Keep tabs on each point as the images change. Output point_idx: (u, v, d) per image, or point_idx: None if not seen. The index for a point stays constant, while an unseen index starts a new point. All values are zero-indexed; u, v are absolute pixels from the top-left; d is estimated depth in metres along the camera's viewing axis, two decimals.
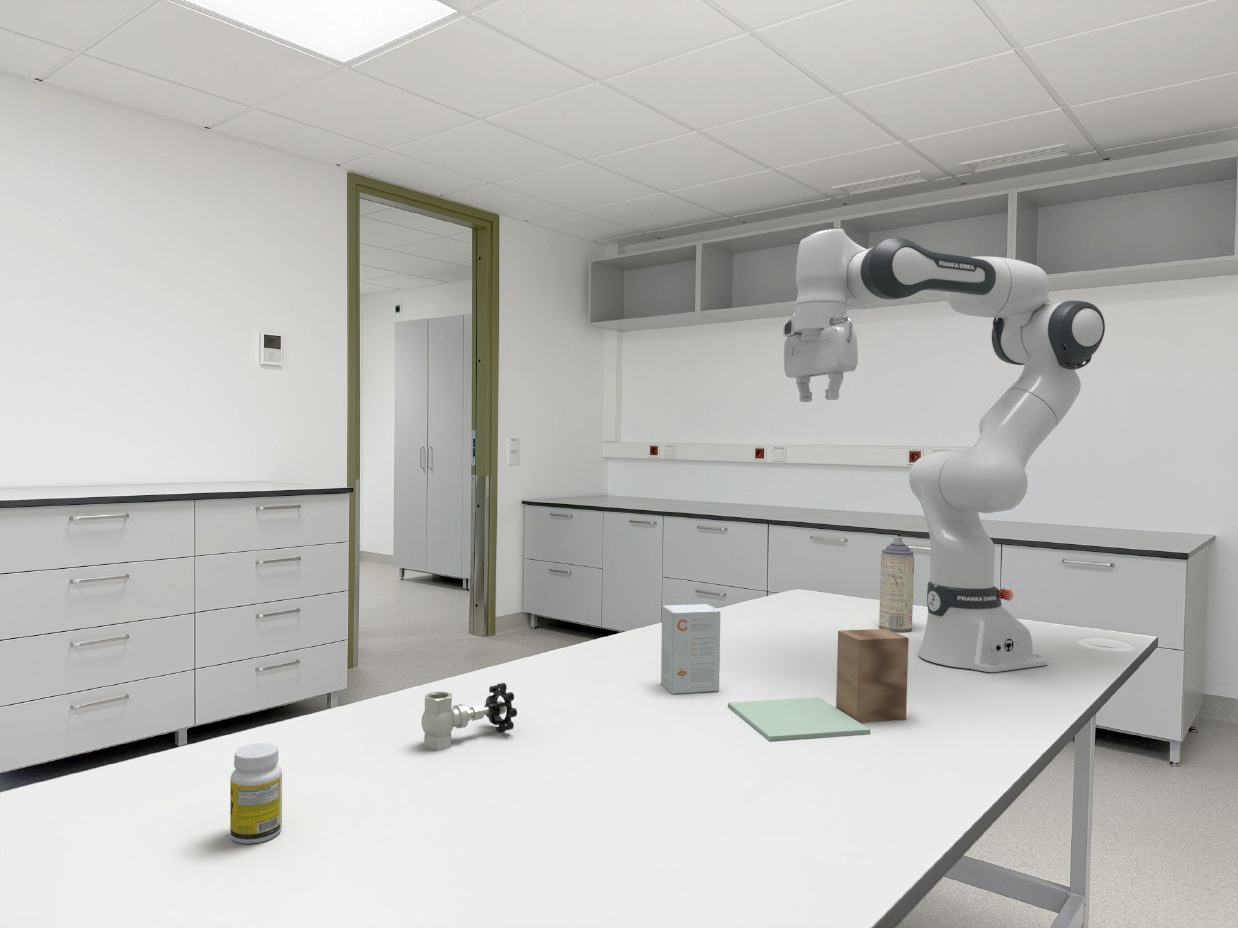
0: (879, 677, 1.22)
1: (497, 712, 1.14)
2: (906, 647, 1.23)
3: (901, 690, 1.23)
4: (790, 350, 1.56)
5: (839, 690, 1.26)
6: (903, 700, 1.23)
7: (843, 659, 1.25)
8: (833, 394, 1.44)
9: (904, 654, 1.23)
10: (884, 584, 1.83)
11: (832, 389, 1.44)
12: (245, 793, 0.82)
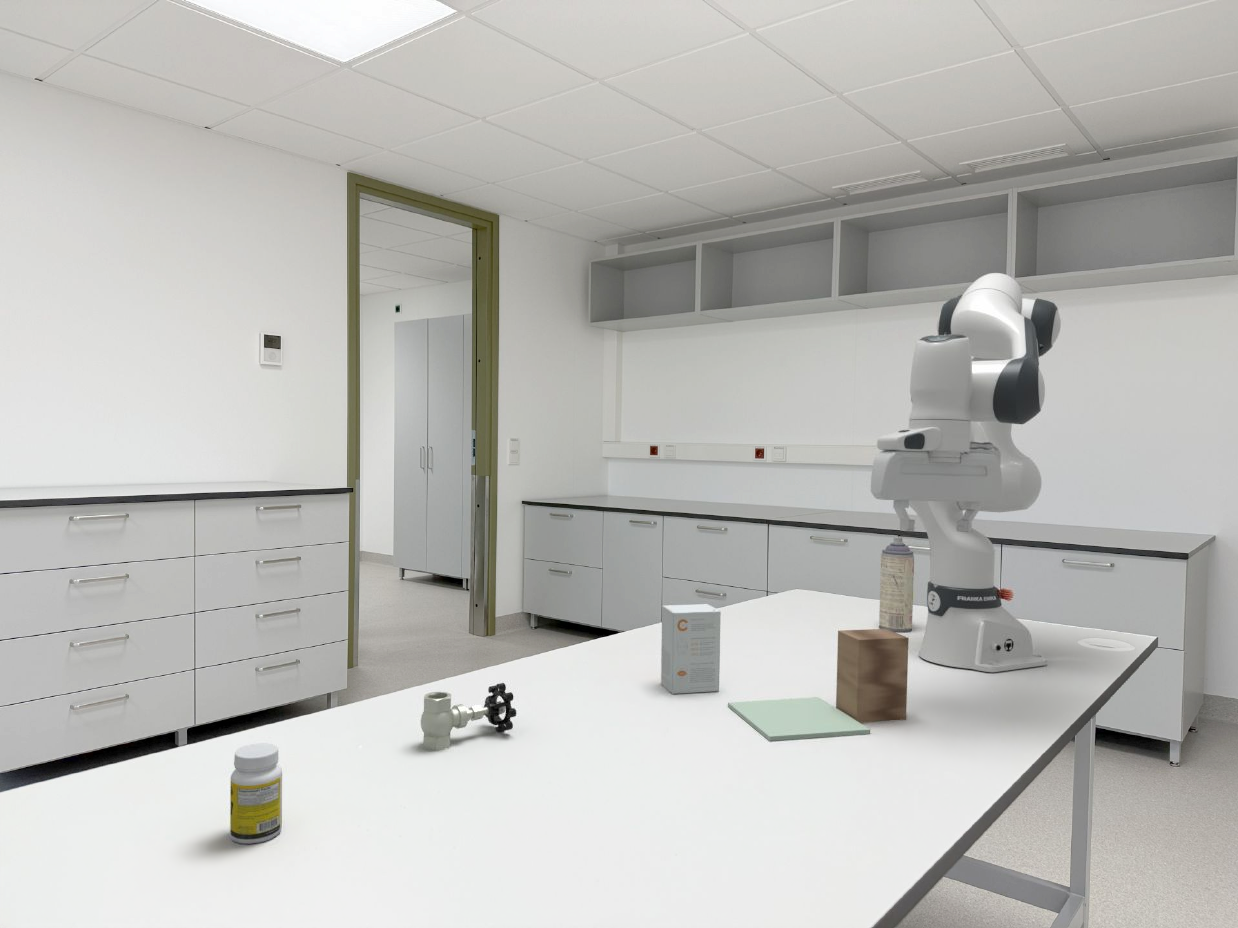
0: (879, 677, 1.22)
1: (496, 712, 1.14)
2: (906, 647, 1.23)
3: (901, 690, 1.23)
4: (898, 467, 1.26)
5: (839, 690, 1.26)
6: (903, 700, 1.23)
7: (843, 659, 1.25)
8: None
9: (904, 654, 1.23)
10: (884, 584, 1.83)
11: None
12: (245, 793, 0.82)
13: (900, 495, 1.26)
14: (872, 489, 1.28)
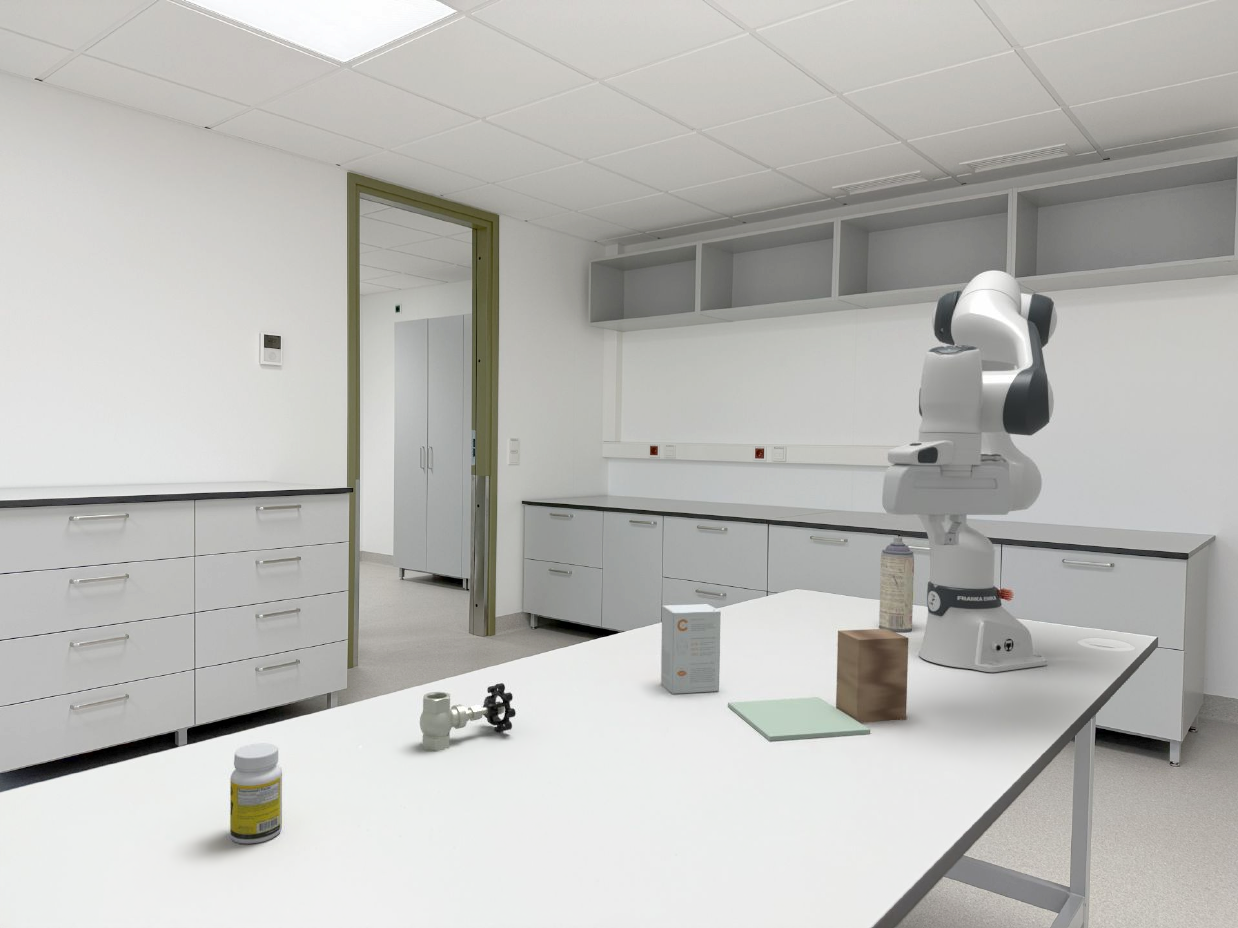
0: (879, 677, 1.22)
1: (495, 712, 1.14)
2: (906, 647, 1.23)
3: (901, 690, 1.23)
4: (911, 482, 1.24)
5: (839, 690, 1.26)
6: (903, 700, 1.23)
7: (843, 659, 1.25)
8: None
9: (904, 654, 1.23)
10: (884, 584, 1.83)
11: None
12: (245, 793, 0.82)
13: (913, 510, 1.24)
14: (884, 503, 1.26)
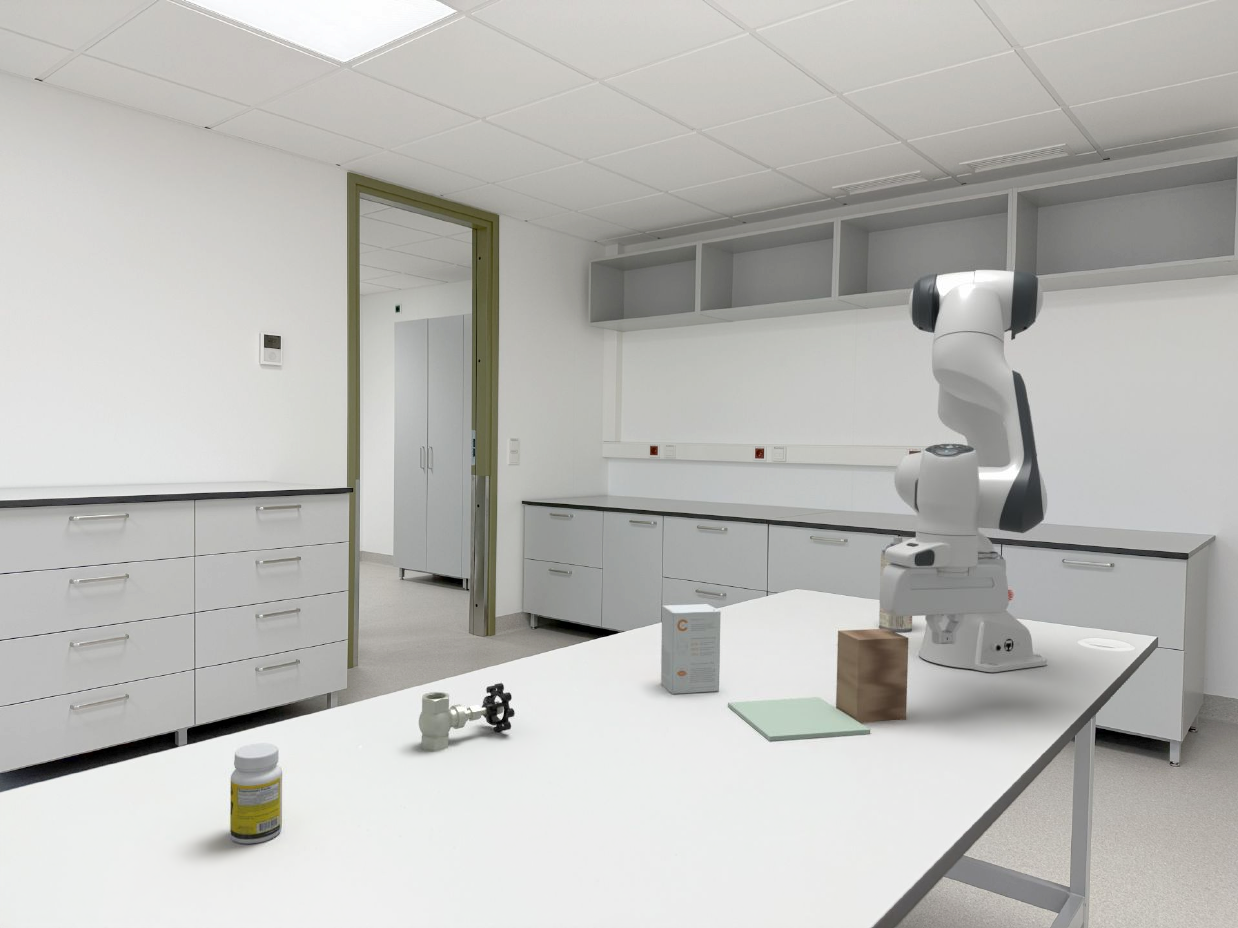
0: (879, 677, 1.22)
1: (494, 712, 1.13)
2: (906, 647, 1.23)
3: (901, 690, 1.23)
4: (908, 584, 1.24)
5: (839, 690, 1.26)
6: (903, 700, 1.23)
7: (843, 659, 1.25)
8: None
9: (904, 654, 1.23)
10: None
11: None
12: (245, 793, 0.82)
13: (910, 611, 1.24)
14: (881, 603, 1.26)
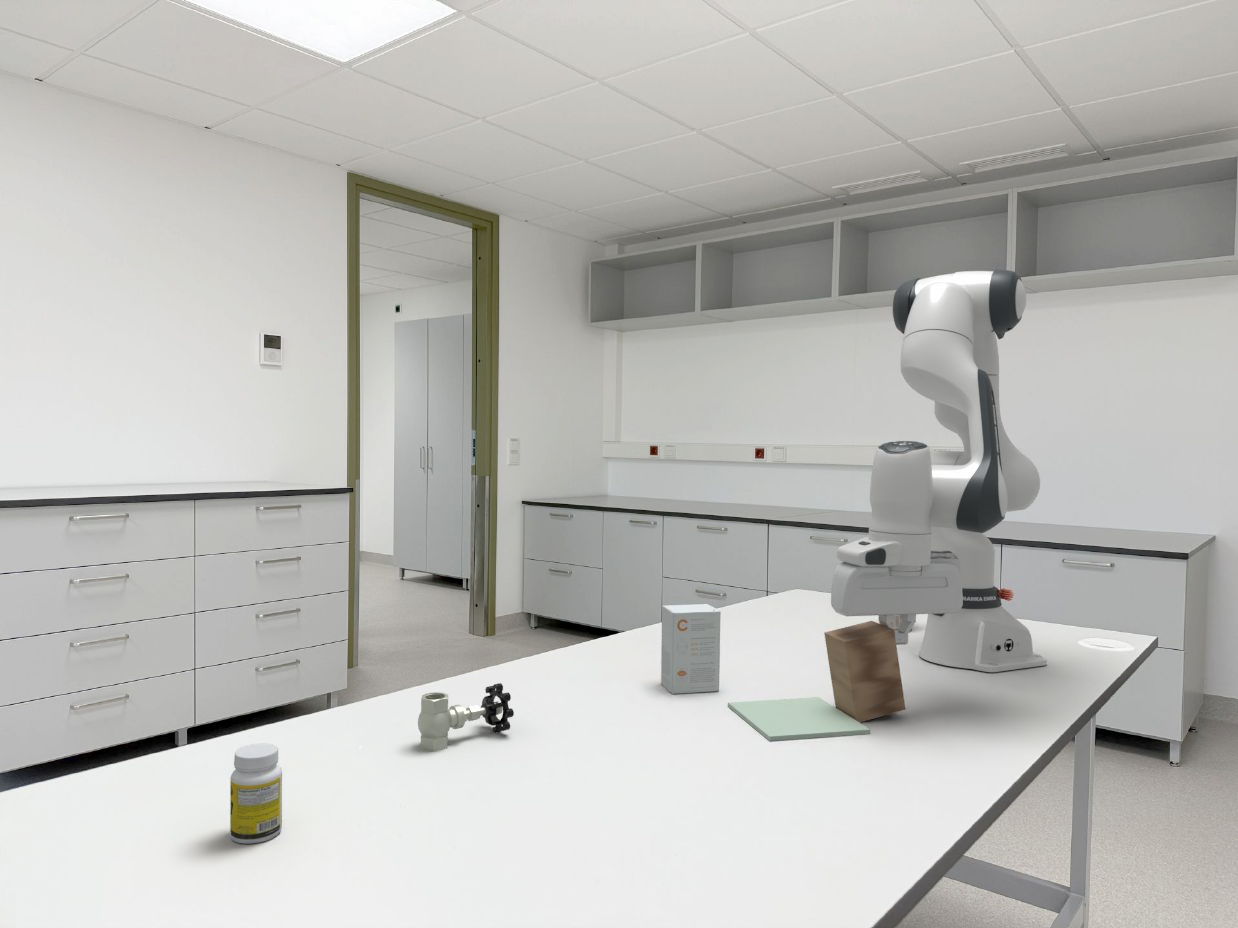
0: (871, 673, 1.22)
1: (493, 712, 1.13)
2: (893, 639, 1.23)
3: (895, 682, 1.23)
4: (859, 583, 1.22)
5: (835, 691, 1.26)
6: (899, 691, 1.23)
7: (833, 660, 1.25)
8: None
9: (892, 646, 1.23)
10: None
11: None
12: (245, 793, 0.82)
13: (861, 611, 1.22)
14: (832, 603, 1.24)
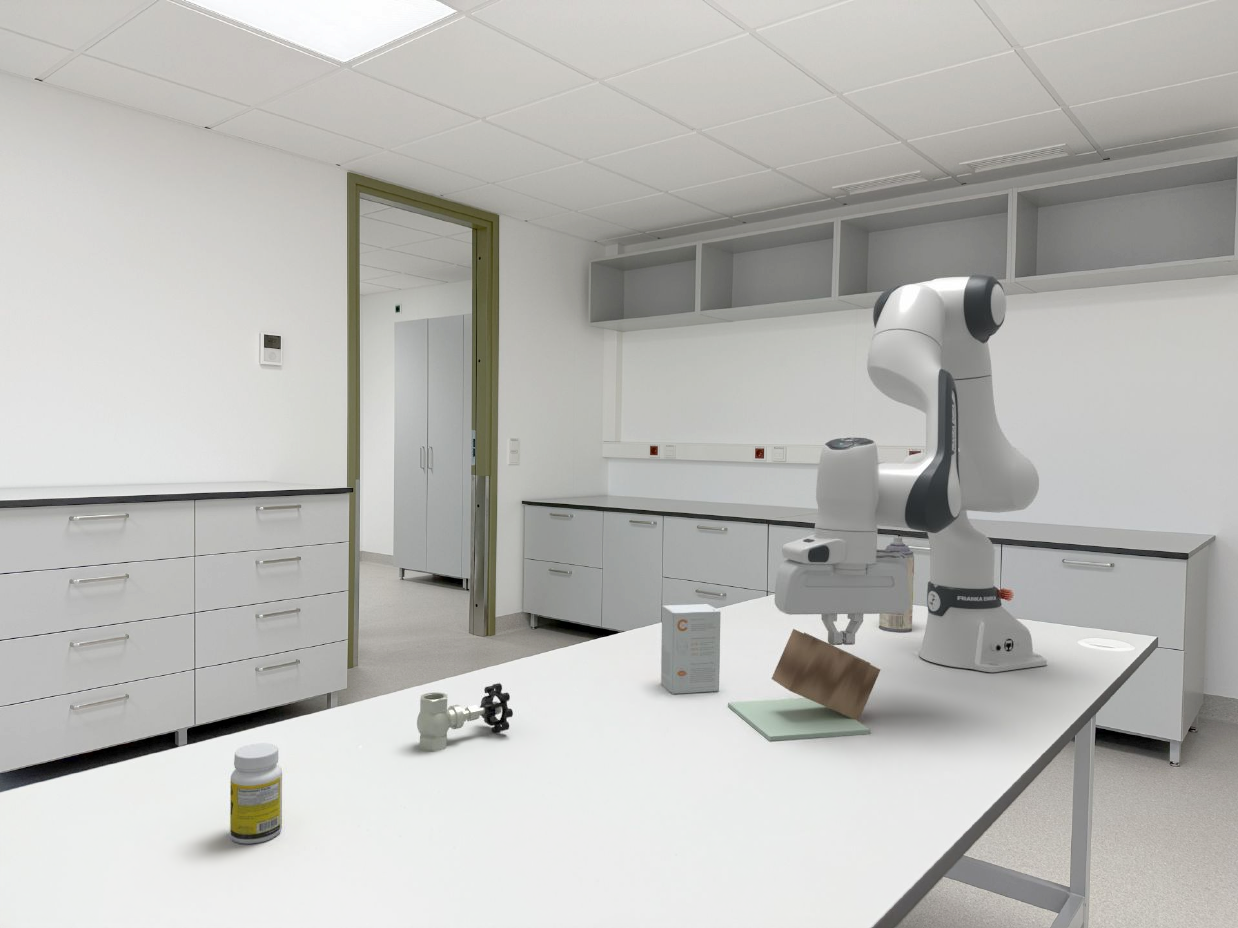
0: (831, 682, 1.20)
1: (493, 713, 1.13)
2: (819, 643, 1.20)
3: (853, 664, 1.21)
4: (802, 581, 1.20)
5: None
6: (863, 665, 1.21)
7: None
8: None
9: (824, 648, 1.20)
10: None
11: None
12: (245, 793, 0.82)
13: (804, 609, 1.20)
14: (776, 601, 1.22)
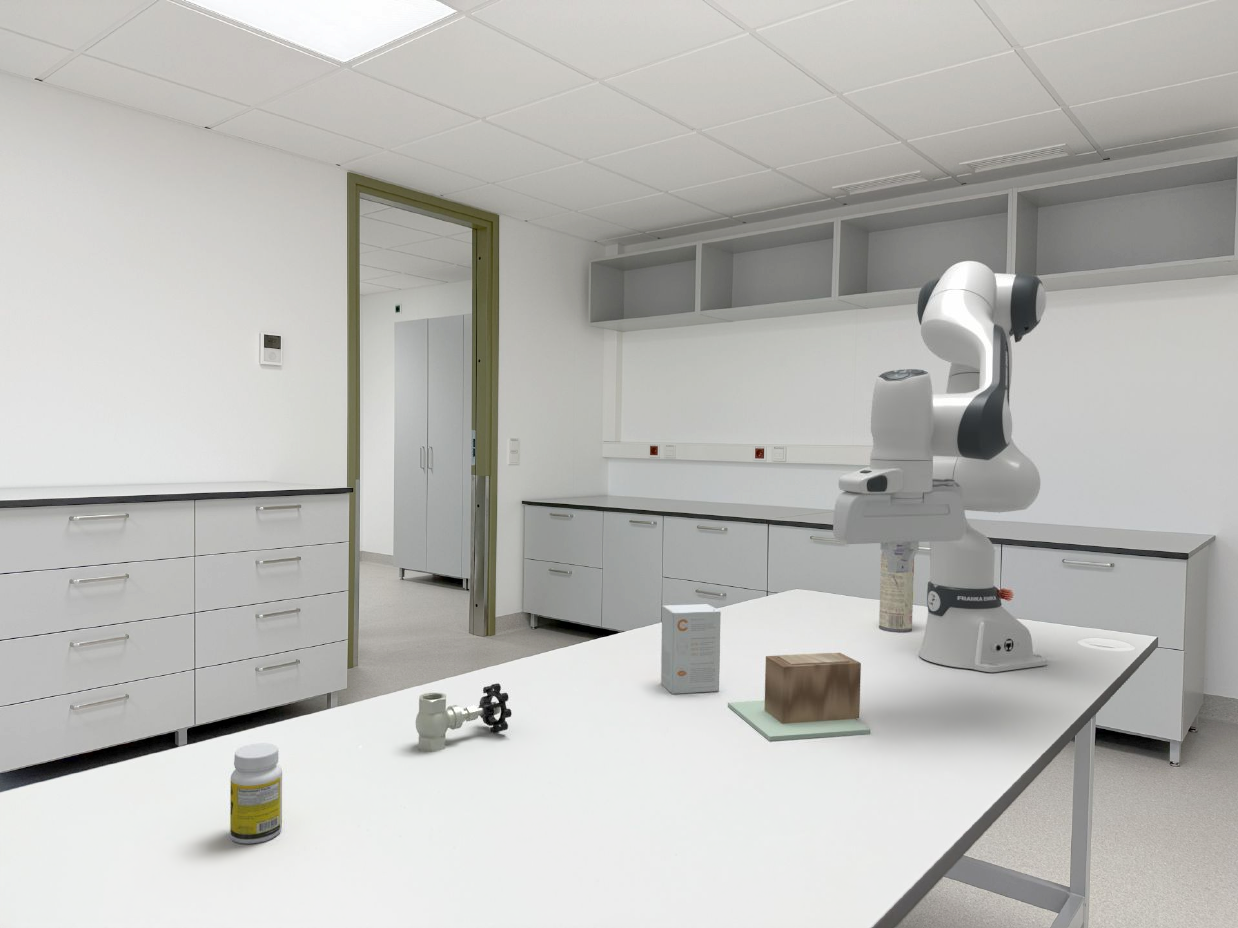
0: (818, 697, 1.20)
1: (491, 713, 1.13)
2: (792, 668, 1.19)
3: (833, 670, 1.20)
4: (861, 511, 1.22)
5: None
6: (842, 667, 1.21)
7: None
8: None
9: (799, 670, 1.19)
10: (884, 584, 1.83)
11: None
12: (245, 793, 0.82)
13: (863, 539, 1.22)
14: (835, 532, 1.24)
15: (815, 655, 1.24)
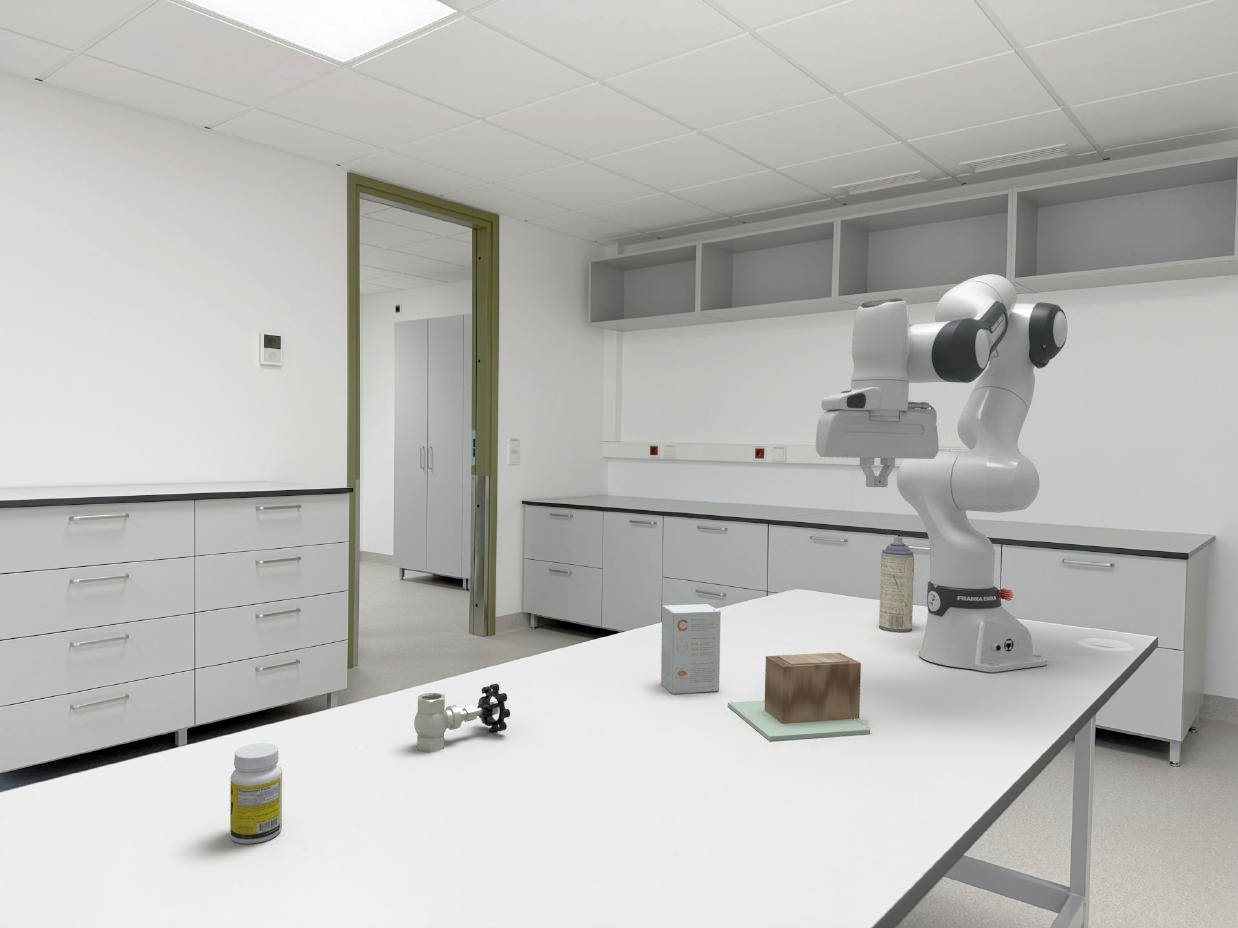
0: (818, 697, 1.20)
1: (490, 713, 1.13)
2: (792, 668, 1.19)
3: (833, 670, 1.20)
4: (841, 426, 1.32)
5: None
6: (842, 667, 1.21)
7: None
8: None
9: (799, 670, 1.19)
10: (884, 584, 1.83)
11: None
12: (245, 793, 0.82)
13: (843, 452, 1.32)
14: (817, 447, 1.34)
15: (815, 655, 1.24)
